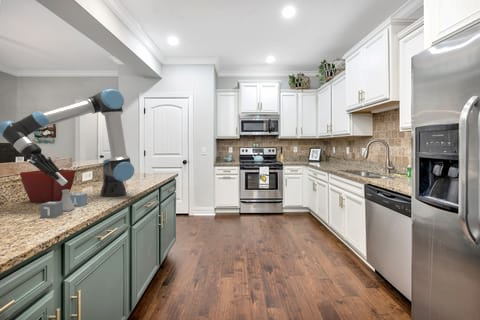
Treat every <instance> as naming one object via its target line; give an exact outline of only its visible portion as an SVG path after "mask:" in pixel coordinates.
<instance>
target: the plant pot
mask: <svg viewBox="0 0 480 320" xmlns="http://www.w3.org/2000/svg"><path fill="white" fill-rule="evenodd" d="M59 170H60V171H59V172H58V173H59V174H60V175H62V176H63V177H64V178H65V179H66V180H67V181H68V182H67V183H66V184H65V185H63V186H62V185H61V184H60V183H58V182H57V181H56V180H55V179H54V178H53V177H52V176H51V177H49V175H46V174H45V173H43V172H42V171H41V170H39V169H38V170H31V171H20V172H19V175H20V179H21V182H22V185H23V188H24V191H25V192H26V195H27V197H28V199H29V200H30V202H32V203H46V202H60V201H61V199H62V195H63V192H62V190H70V191H69V194H71V193H70V192H71V190H72V187H73V183H74V182H75V181H74V180H75V176H76V169H59Z"/></svg>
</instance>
